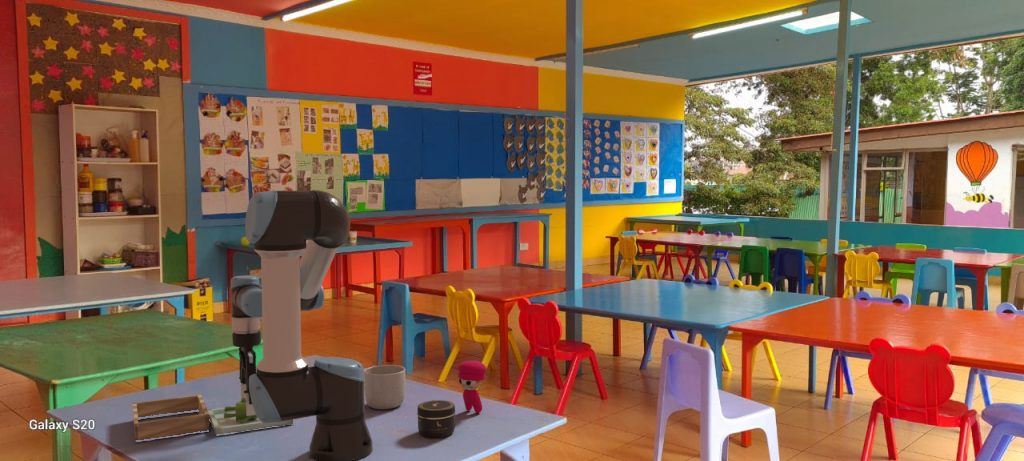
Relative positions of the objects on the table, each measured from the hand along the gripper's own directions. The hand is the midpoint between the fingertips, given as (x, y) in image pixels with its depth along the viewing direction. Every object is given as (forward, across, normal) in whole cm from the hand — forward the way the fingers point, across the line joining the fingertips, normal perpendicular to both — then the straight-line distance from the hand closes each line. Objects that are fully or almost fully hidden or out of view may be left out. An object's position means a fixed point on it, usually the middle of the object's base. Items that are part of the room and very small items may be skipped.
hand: (249, 410), depth 213 cm
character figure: (+2, -1, +1) cm, 3 cm away
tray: (+3, 0, 0) cm, 3 cm away
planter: (+3, -5, -38) cm, 38 cm away
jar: (+3, -36, -42) cm, 56 cm away
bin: (+3, +6, +20) cm, 21 cm away
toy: (+3, -24, -58) cm, 63 cm away
